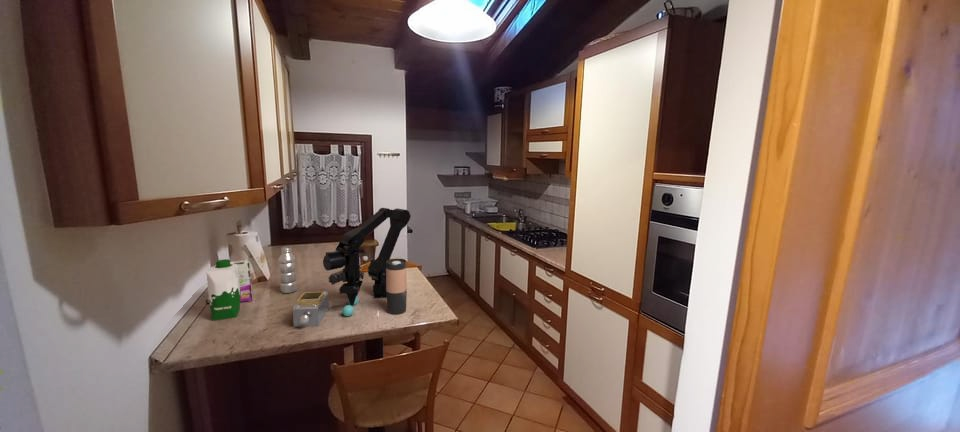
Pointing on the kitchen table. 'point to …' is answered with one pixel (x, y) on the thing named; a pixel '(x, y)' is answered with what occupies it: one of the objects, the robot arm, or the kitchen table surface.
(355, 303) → the bead
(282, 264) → the plastic bottle
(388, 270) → the travel mug
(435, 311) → the kitchen table surface
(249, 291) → the candy bar box
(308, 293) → the gearbox
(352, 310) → the bead
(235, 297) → the milk carton
